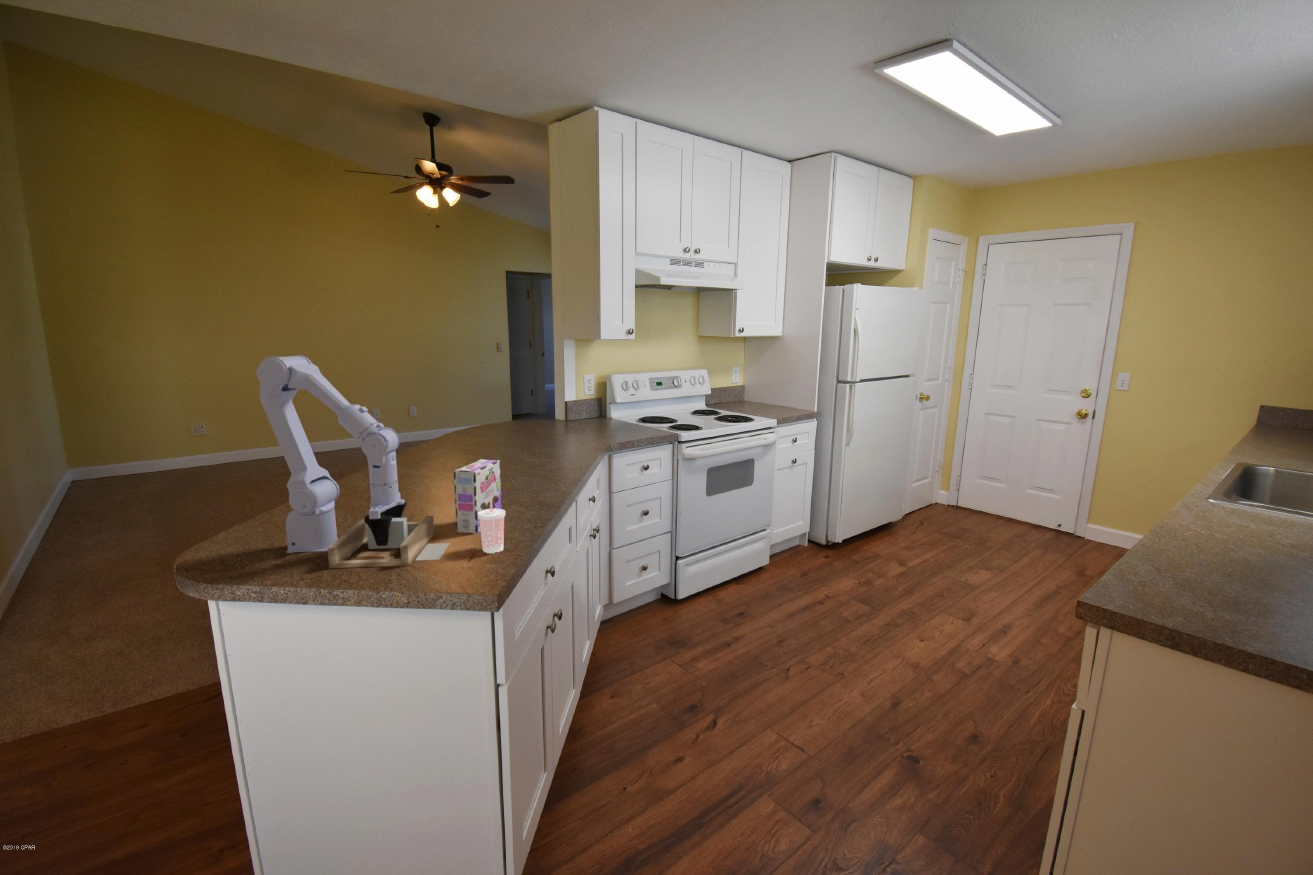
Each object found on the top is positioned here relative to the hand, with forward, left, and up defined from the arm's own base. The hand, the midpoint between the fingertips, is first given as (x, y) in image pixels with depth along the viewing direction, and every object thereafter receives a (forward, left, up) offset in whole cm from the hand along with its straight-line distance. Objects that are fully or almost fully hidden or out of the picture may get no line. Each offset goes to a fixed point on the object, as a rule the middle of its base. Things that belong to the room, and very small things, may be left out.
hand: (388, 539), depth 131 cm
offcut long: (-1, -8, -3) cm, 8 cm away
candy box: (+18, +14, -2) cm, 23 cm away
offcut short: (-1, -8, -2) cm, 8 cm away
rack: (0, -2, -2) cm, 3 cm away
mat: (+11, -4, -2) cm, 12 cm away
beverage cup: (+24, -3, -2) cm, 24 cm away
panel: (0, 0, -2) cm, 2 cm away
